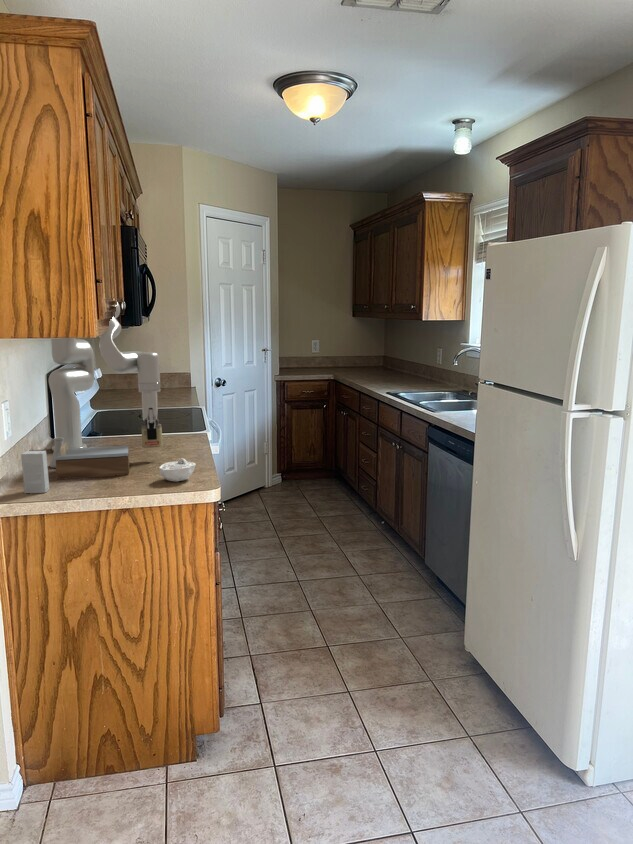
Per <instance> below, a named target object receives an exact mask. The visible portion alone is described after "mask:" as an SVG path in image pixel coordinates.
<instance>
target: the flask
mask: <svg viewBox="0 0 633 844" xmlns="http://www.w3.org/2000/svg"><path fill="white" fill-rule="evenodd" d="M63 440H64V438H63V437H57V438H56V437H54V438H53V441H54V446H55V448H54V451H52V452H53V453H52V456H51V459H50V462H49V467H50V468H53V469H56V455H57V454H58V452H59V450H60V448H61V446H62V444H63Z"/></svg>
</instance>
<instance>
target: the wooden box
mask: <svg viewBox="0 0 633 844" xmlns="http://www.w3.org/2000/svg"><path fill="white" fill-rule="evenodd" d="M129 465H130V451H129V450H128V456H119V457H101V458H84V459H67V460H56V468H55V469H56V480H66V479H65V478H71V479H81V478H84V477H86V478H98V477H101V478H102V477H113V476H115V475H117V476H126V475H125V474H129V475H130V466H129Z"/></svg>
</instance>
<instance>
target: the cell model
mask: <svg viewBox="0 0 633 844" xmlns="http://www.w3.org/2000/svg"><path fill="white" fill-rule="evenodd" d="M195 467H196V463H195V462H192V461H187V460H186V459H185V458H183V457H181V458H179V459H178V461H168V462H165V463H163V464H161V465H160V466H158V471H159V474H160V476H161V477H162V478H164V479H165V480H167V481H169V482H181V481H186V480H188V479H189V478H190V477H191V476H192V474H193V473H194V471H195Z"/></svg>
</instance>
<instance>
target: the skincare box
mask: <svg viewBox="0 0 633 844" xmlns="http://www.w3.org/2000/svg"><path fill="white" fill-rule="evenodd" d="M20 459H21V467H22V479H23V489H24V490H23V491H24V492H23V493H24V494H25V493H30V494H44V493H47V492H48V491H49V490H50V481H49V470H48V458H47V450H30V451H27V450H26V451H24V452H23V453H21V454H20Z"/></svg>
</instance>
